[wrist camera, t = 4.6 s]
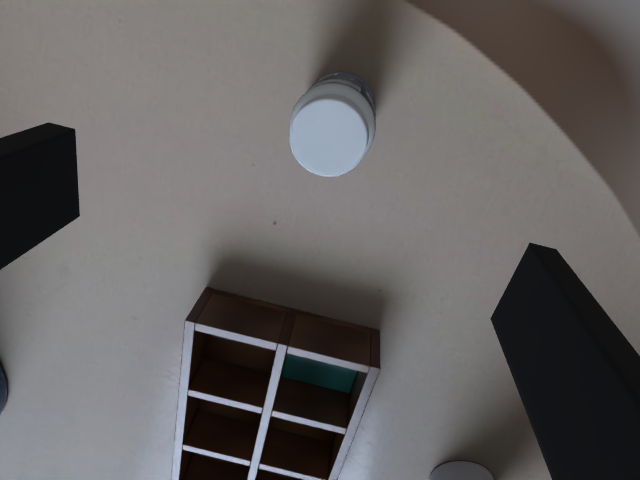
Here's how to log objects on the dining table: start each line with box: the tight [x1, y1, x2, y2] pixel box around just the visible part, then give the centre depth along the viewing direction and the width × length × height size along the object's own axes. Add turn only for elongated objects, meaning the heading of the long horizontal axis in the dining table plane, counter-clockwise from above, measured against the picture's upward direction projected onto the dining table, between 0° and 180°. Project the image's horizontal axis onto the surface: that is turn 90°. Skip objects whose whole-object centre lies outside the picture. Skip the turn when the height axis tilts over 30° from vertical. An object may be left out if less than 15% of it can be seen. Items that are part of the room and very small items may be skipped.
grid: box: [171, 287, 381, 480], centre depth 40 cm, size 15×23×5 cm
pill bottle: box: [289, 72, 376, 177], centre depth 25 cm, size 5×5×8 cm
